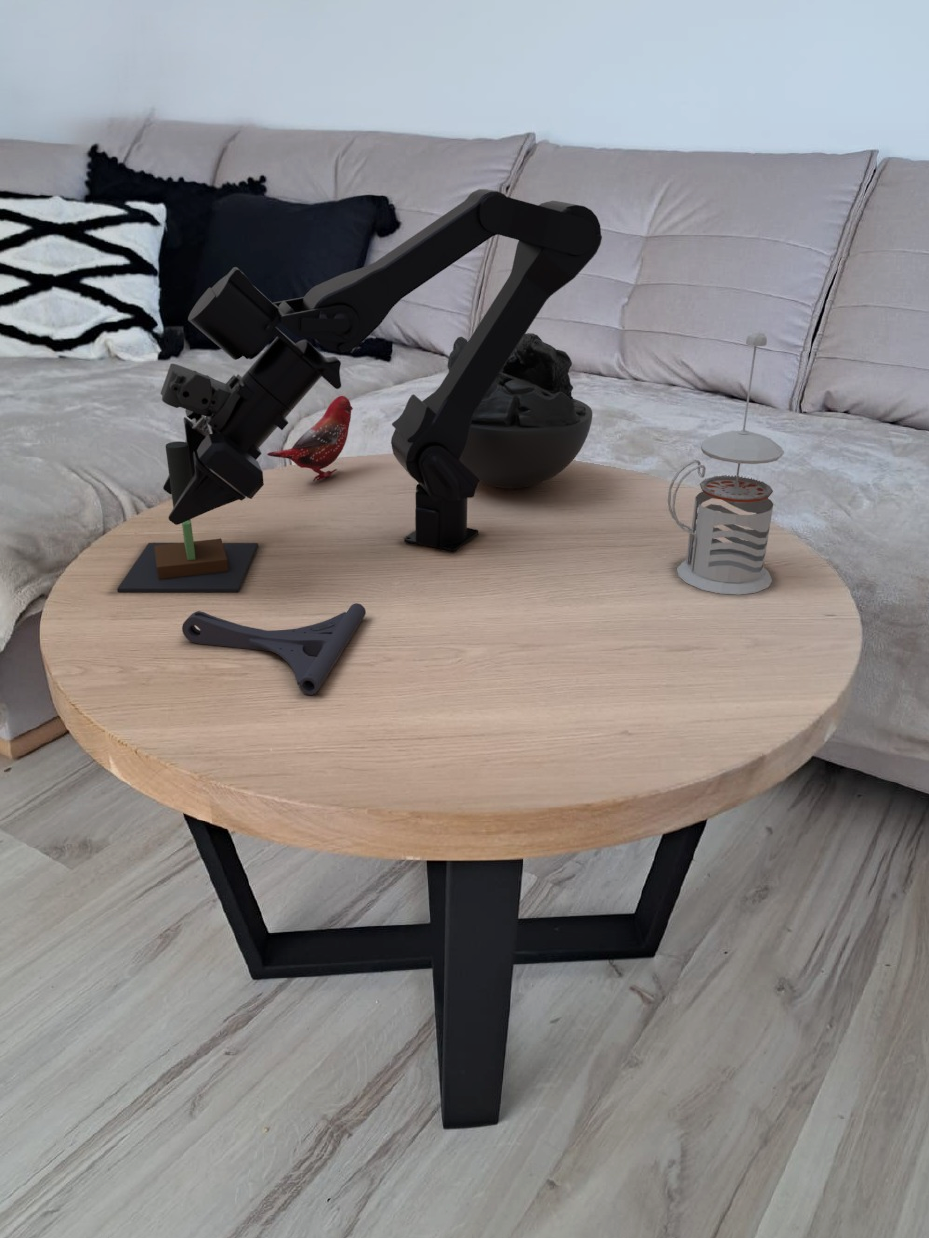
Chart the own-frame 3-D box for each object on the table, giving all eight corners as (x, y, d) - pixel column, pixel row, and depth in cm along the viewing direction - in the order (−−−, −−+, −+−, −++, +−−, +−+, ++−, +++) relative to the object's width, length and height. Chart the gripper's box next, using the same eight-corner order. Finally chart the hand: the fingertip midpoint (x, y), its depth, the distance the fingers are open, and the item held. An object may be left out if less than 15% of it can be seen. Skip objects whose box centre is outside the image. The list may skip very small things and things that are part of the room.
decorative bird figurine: (363, 466, 136) (361, 393, 131) (280, 504, 122) (274, 424, 118) (346, 462, 137) (343, 390, 133) (261, 500, 123) (255, 421, 119)
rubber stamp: (222, 550, 108) (209, 433, 102) (228, 571, 103) (215, 450, 97) (155, 557, 106) (139, 438, 100) (158, 579, 101) (141, 456, 95)
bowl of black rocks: (606, 473, 134) (617, 330, 126) (557, 521, 118) (566, 361, 110) (471, 453, 142) (473, 317, 133) (407, 496, 125) (404, 344, 117)
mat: (149, 546, 110) (148, 542, 110) (258, 546, 110) (257, 542, 110) (117, 592, 99) (116, 588, 99) (238, 592, 100) (237, 588, 99)
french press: (786, 593, 101) (830, 341, 89) (674, 596, 100) (704, 343, 88) (753, 555, 109) (788, 321, 98) (649, 557, 108) (673, 322, 97)
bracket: (218, 605, 97) (215, 579, 96) (366, 619, 94) (365, 592, 93) (150, 679, 84) (146, 650, 83) (319, 697, 82) (317, 668, 81)
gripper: (197, 318, 103) (101, 431, 105) (215, 355, 87) (101, 487, 89) (278, 389, 109) (186, 494, 111) (309, 436, 93) (201, 558, 95)
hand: (169, 506), depth 101 cm, fingers open, 9 cm apart
